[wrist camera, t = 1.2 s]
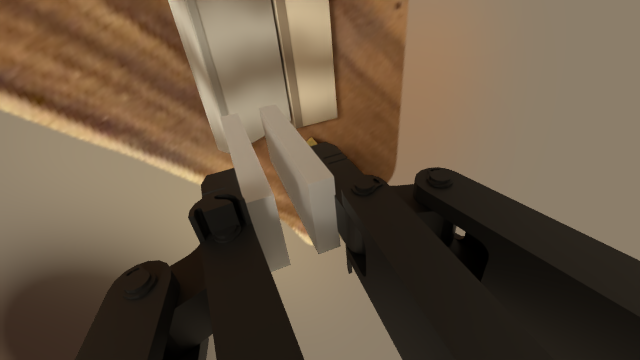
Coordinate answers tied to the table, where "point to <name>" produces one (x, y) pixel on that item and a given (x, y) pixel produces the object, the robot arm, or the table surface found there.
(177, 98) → the table surface
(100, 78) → the table surface
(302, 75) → the laid board
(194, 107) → the table surface
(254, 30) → the plank
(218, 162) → the table surface
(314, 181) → the robot arm
